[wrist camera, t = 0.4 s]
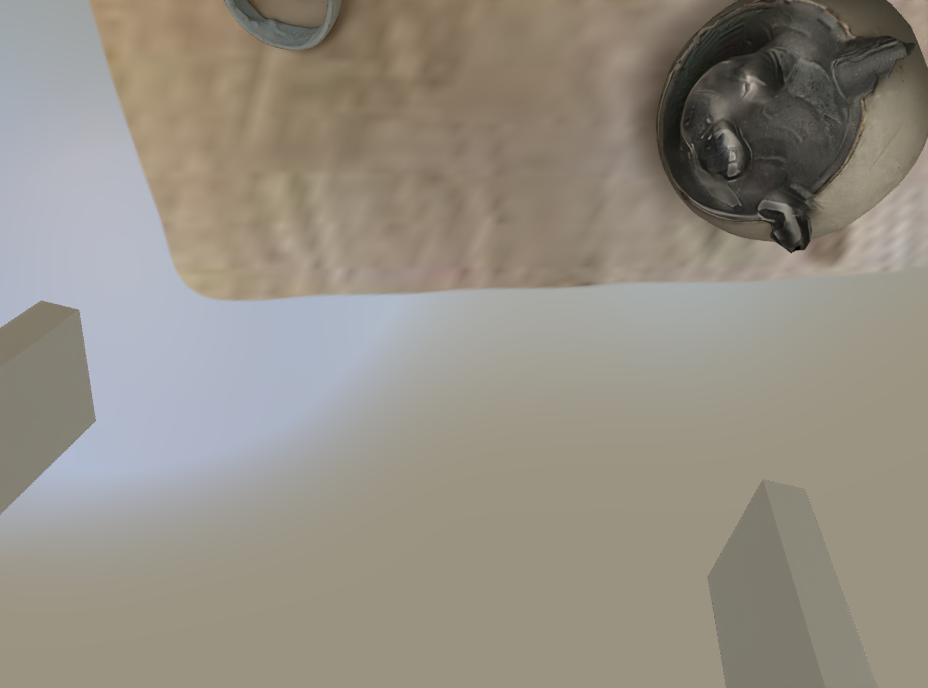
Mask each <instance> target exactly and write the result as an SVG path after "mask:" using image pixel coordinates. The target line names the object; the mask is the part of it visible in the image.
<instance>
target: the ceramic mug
mask: <svg viewBox="0 0 928 688" xmlns="http://www.w3.org/2000/svg"><path fill="white" fill-rule="evenodd" d="M224 1H225V4H226V6H227V7H228V9H229V10H230V12H231V13H232V15H233V17H234V18H235V20H236V21H237V22H238V23H239V24H240V25H241V26H242V27H243V28H244V29H245V30H246V31H248V32H249V33H250V34H251V35H253V36H254V37H256V38H257V39H258V40H260V41H262V42H264V43H266V44H269V45H272V46H274V47H277V48H281V49H287V50H307V49H310V48H312V47H314V46H316V45H318V44H319V43H320V42H321V41H322V40H323V39H324V38H325V37H326V36H327V35H328V33H329V32H330V30H331V28H332V27H333V25H334V23H335V21H336V19H337V17H338V15H339V12H340V8H341V3H342V0H328V5H327V11H326V16H325V20H324V22H323V24H322V26H320V27H314V28H303V27H298V26H292V25H286V24H283V23H279V22H277V21H276V20H274V19H267V20H266V19H265V18H264V17H263V16H261V15H260V14H259V13H258V12H257V11H256V10H255V9H254V8H253V6H252V5H251V4H250V3H249V1H248V0H224Z"/></svg>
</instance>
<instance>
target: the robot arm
mask: <svg viewBox="0 0 928 688" xmlns="http://www.w3.org/2000/svg"><path fill="white" fill-rule="evenodd" d="M95 421H96V419H95V413H94V406H93V399H92V393H91V386H90V380H89V373H88V366H87V359H86V353H85V346H84V339H83V332H82V326H81V319H80V313H79V310H77V309H73V308H69V307H65V306H61V305H57V304H53V303H48V302H45V301H40V302H39V303H37V304H35V305H34V306H33V307H31V308H29V309H28V310H26V311H25V312H23V313H22V314H20V315H19V316H18V317H16V318H15V319H13V320H11V321H10V322H8V323H7V324H6V325H4V326H3V327H1V328H0V514H1V513H2V512H3V511H4V510H5V509H6V508H7V507H8V506H9V505H10V504H11V503H12V502H13V501H14V500H15V499H16V498H17V497H19V496H20V494H21V493H23V492H24V491H25V490H26V489H27V488H28V487H29V486H30V485H31V484H32V483H33V482H34V481H35V480H36V479H37V478H38V477H39V476H40V475H41V474H42V473H43V472H44V471H45V470H46V469H47V468H48V467H49V466H50V465H51V464H52V463H53V462H54V461H55V460H56V459H57V458H58V457H59V456H60V455H61V454H62V453H63V452H64V451H65V450H66V449H68V447H70V446H71V445H72V444H73V443H74V442H75V441H76V440H77V439H78V438H79V437H80V436H81V435H82V434H83V433H84V432H85V431H86V430H87V429H88V428H89V427H90V426H91V425H92V424H93V423H94V422H95ZM708 582H709V588H710V594H711V600H712V605H713V612H714V618H715V624H716V630H717V636H718V642H719V648H720V654H721V660H722V666H723V672H724V678H725V684H726V688H878V686H877V683H876V681H875V678H874V675H873V673H872V670H871V667H870V664H869V662H868V659H867V656H866V653H865V651H864V648H863V645H862V643H861V640H860V637H859V634H858V632H857V629H856V626H855V624H854V621H853V618H852V616H851V613H850V610H849V607H848V605H847V602H846V599H845V596H844V594H843V591H842V588H841V586H840V583H839V580H838V577H837V575H836V572H835V569H834V567H833V564H832V561H831V558H830V556H829V553H828V550H827V548H826V545H825V542H824V539H823V537H822V534H821V531H820V529H819V526H818V523H817V520H816V518H815V515H814V512H813V510H812V507H811V504H810V502H809V498H808V496H807V493H806V490H805V489H802V488H798V487H794V486H790V485H786V484H782V483H778V482H774V481H769V480H766V479H763V480H762V482H761V483H760V485H759V487H758V489H757V490H756V492H755V494H754V496H753V497H752V499H751V501H750V503H749V505H748V506H747V508H746V510H745V512H744V513H743V515H742V517H741V519H740V520H739V522H738V524H737V526H736V527H735V529H734V531H733V533H732V535H731V537H730V538H729V540H728V542H727V544H726V545H725V547H724V549H723V551H722V552H721V554H720V556H719V558H718V559H717V561H716V563H715V565H714V567H713V568H712V570H711V572H710V573H709V575H708Z"/></svg>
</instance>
